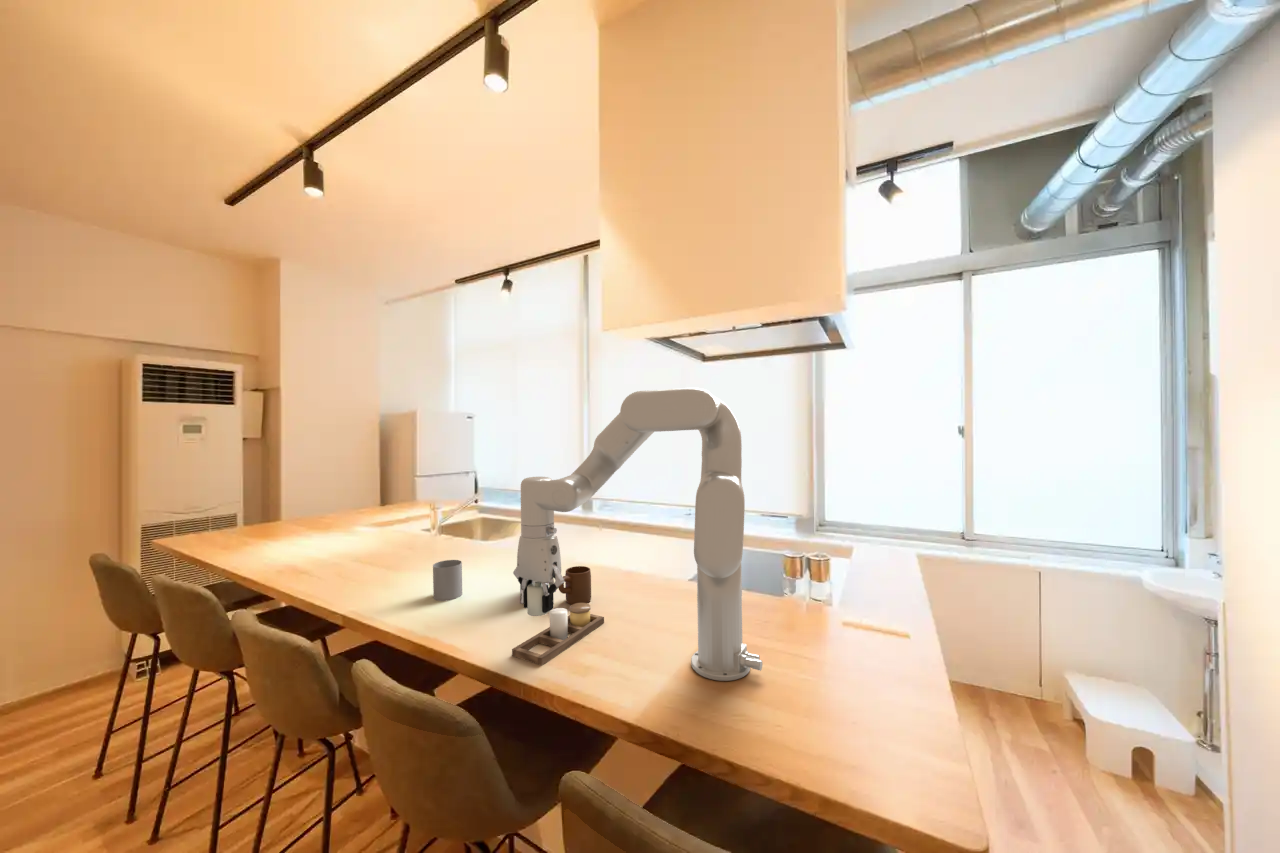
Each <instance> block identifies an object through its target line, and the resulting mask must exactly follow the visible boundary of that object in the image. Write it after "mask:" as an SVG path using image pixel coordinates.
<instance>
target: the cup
mask: <svg viewBox="0 0 1280 853" xmlns="http://www.w3.org/2000/svg"><path fill="white" fill-rule="evenodd" d="M462 565H463V562H462V560H458V559H446V560H441V561H438V562H435V563H433V564H432V580H433V581H432V583H433V584H432V585H433V586H432V587H433V588H432V589H433V600H435V601H438V602H444V601H452V600H455V599H458V598H460V597H462V596H463V566H462Z"/></svg>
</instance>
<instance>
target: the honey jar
mask: <svg viewBox="0 0 1280 853" xmlns="http://www.w3.org/2000/svg"><path fill="white" fill-rule="evenodd" d="M590 614H591V604H589V602H588V603H575V604H573V605H570V606H569V615H570V624H571V625H575V626H579V627H584V626H586V625H587V624H589V623H590Z"/></svg>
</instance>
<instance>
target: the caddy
mask: <svg viewBox="0 0 1280 853" xmlns="http://www.w3.org/2000/svg"><path fill="white" fill-rule="evenodd" d="M604 624H605V616H601V615H597V614H593V613H590V623H589V624H587V625H586V626H584V627H579V626H575V625H571V624H570V614H569V615H568V634H570V635H568V637H567V638H566V639H564V640H561V639H557V638H554V637H550V626H549V627H547V628H545V629H543V630H542V631H540V632H539V633H537V634H535V635H533V636H531V637H530V638H528V639H527V640H525V641H524V642H521V643H520V644H519V645H517V646H515V647H513V648H512V649H511V656H512V657H514V658H517V659H519V660H520V659H521V660H523V661H526V662H529V663H533V664H536V665H540V666H543V665H545V664H546V663H549V661H551V660H552V659H554V658H555V657H557V656H558V655H559V654H561V653H562V652H564V651H565V650H567V649H569V648H570V647H572V645H574V644H576V643H577V642H579V641H580V640H581V639H583V638H584V637H586V636H587V635H589V634H590V633H591V632H593V631H595V630H596V629H597V628H599V627H601V626H602V625H604ZM538 644H542V645H545V646H547V647H548V646H549V647H550V648H549V649H548V650H545V651H544V652H543V653H542V654H541V653H537V652H534V651H531V650H530V649H532V648H534V647H535V646H536V645H538Z"/></svg>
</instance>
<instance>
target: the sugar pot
mask: <svg viewBox="0 0 1280 853" xmlns="http://www.w3.org/2000/svg"><path fill="white" fill-rule="evenodd" d="M548 588H549V584H548ZM543 595H544V591H543V586H542V582H538V581H537V582H535V583H532V584H529V585H528V586H527V608H526V610H527V611H526V612H527V615H529V616H531V617H541V616H545V615H547V614H549V611H548V612H547V613H543V612H542V596H543Z"/></svg>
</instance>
